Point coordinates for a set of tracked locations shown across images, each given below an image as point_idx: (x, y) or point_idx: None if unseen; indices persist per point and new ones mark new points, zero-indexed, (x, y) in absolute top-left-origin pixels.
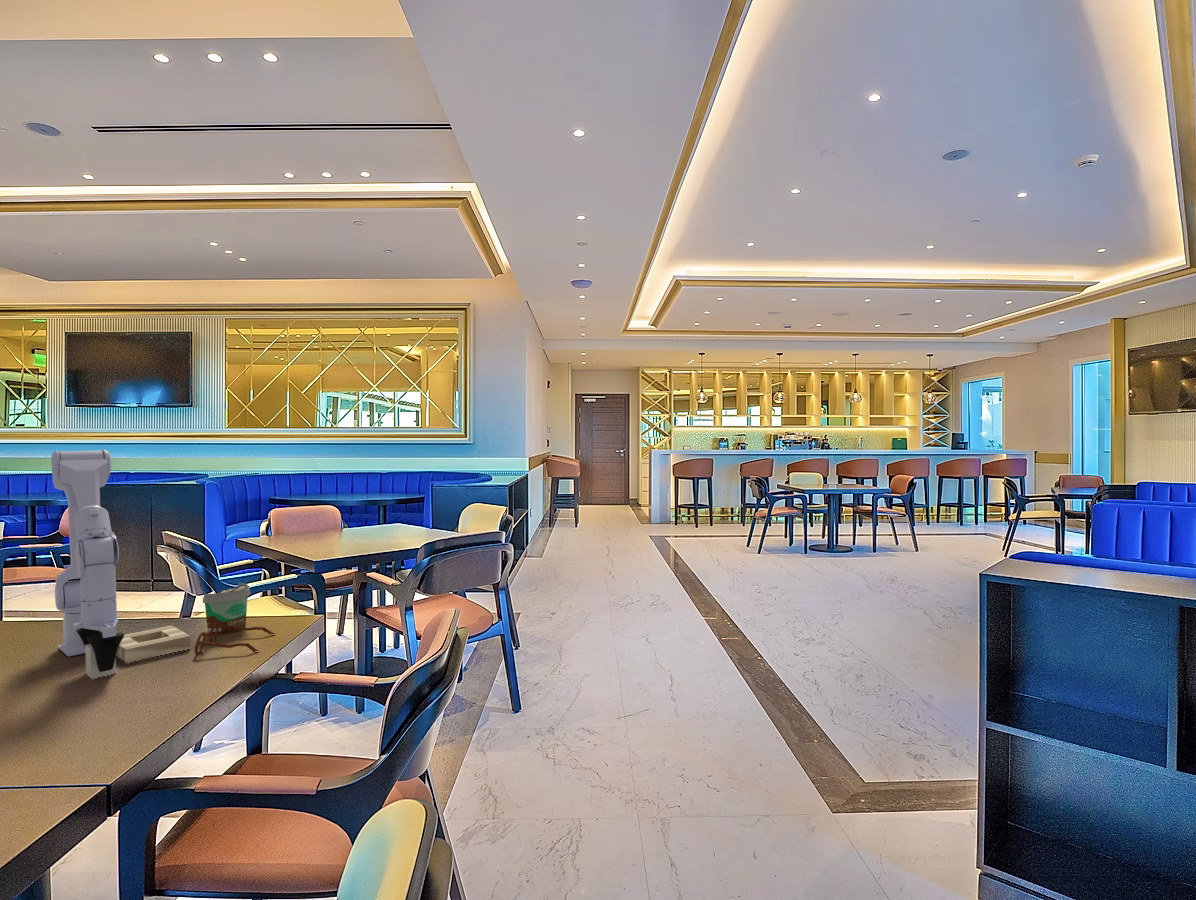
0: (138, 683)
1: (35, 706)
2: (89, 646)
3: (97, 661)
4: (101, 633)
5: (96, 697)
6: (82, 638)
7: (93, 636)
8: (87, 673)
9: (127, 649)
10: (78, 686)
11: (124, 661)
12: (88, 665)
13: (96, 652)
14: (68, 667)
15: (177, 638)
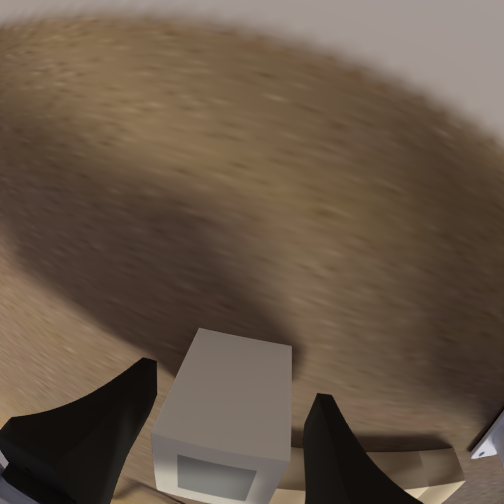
0: (47, 359)
1: (58, 82)
2: (222, 456)
3: (111, 380)
4: (31, 496)
5: (6, 242)
6: (344, 490)
7: (57, 483)
8: (266, 348)
9: (276, 489)
10: (149, 262)
11: (302, 450)
12: (236, 371)
13: (68, 404)
14: (455, 341)
15: None
